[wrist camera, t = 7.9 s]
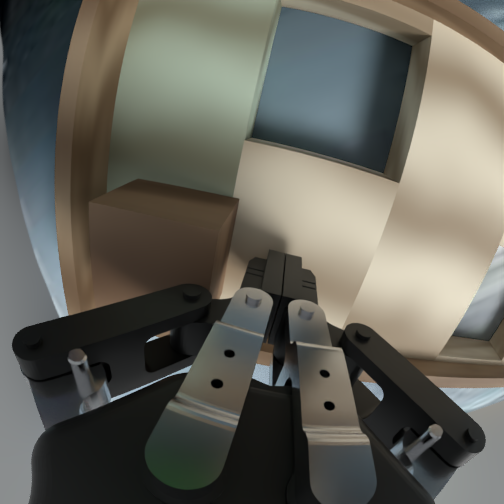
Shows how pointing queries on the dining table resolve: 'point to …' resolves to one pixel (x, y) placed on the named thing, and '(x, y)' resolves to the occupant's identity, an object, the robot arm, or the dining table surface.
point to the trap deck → (301, 162)
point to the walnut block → (158, 240)
